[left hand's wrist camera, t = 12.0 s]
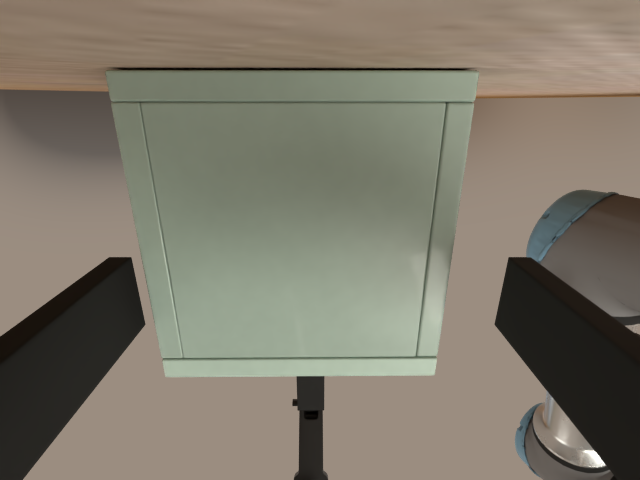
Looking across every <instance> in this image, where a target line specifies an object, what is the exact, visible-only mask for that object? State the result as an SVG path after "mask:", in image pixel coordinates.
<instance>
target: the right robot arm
mask: <svg viewBox="0 0 640 480" xmlns="http://www.w3.org/2000/svg"><path fill="white" fill-rule="evenodd" d="M526 256H527V257H531V258H532V259H534V260H535V261H536V262H538V263H539V264H541V265H542V266H543V267H545V268H546V269H547V270H549V271H550V272H552V273H553V274H554V275H556V276H557V277H558V278H560V279H561V280H563V281H564V282H565V283H567V284H568V285H569V286H571V287H572V288H574V289H575V290H576V291H578V292H579V293H580V294H582V295H583V296H584V297H586V298H587V299H589V300H590V301H591V302H593V303H594V304H595V305H597V306H598V307H600V308H601V309H602V310H604V311H605V312H606V313H608V314H609V315H611V316H612V317H613V318H615V319H616V320H617V321H619V322H620V323H622V324H623V325H624V326H626V327H627V328H628V329H630V330H631V331H633V332H634V333H636V331H637V327H638V326H639V325H640V199H639V198H634V197H629V196H624V195H619V194H618V193H615V192H608V193H605V192H598V191H591V190H576V191H573V192H570V193H568V194H566V195H564V196H562V197H561V198H559V199H558V200H556V201H555V202H554V203H553V204H552V205H551V206H550V207H549V208H548V209H547V210H546V211H545V213H544V214H543V215H542V217H541V218H540V219H539V221H538V222H537V224H536V225H535V227H534V229H533V231H532V233H531V236H530V238H529V241H528V245H527V251H526ZM293 406H298V410H300V418H299V471H298V472H297V473H296V474H295V477H294V480H328V475H327V473H326V472H325V471H323V410H324V376H297V399H293ZM520 424H521V425H520V427H519V428H517V431H516V436H515V447H516V450H517V453H518V455H519V457H520V458H521V459H522V460H523V461H524V462H525V463H526V464H527V465H528V466H529V468H530V469H531V470H532V471H533V472H534V474H536V475H537V476H539V477H541V478H542V479H543V480H617V479H616V477H615V476H614V475H613V473H612V472H611V471H610V470H609V468H608V467H607V466H606V465H605V463H604V462H603V461H602V460H601V458H600V457H599V456H598V455H597V453H596V452H595V451H594V449H593V448H592V447H591V446H590V444H589V443H588V442H587V441H586V439H585V438H584V437H583V436H582V434H581V433H580V432H579V431H578V429H577V428H576V427H575V425H574V424H573V423H572V422H571V420H570V419H569V418H568V417H567V415H566V414H565V413H564V412H563V410H562V409H561V408H560V407H559V405H558V404H557V403H556V401H555V400H554V399H553V398H552V396H551V395H550V394H549V393H548V391H547V394H546V402H544V403H539V404H537V405H535V406H533V407H532V408H531V409H530V410H529V411H528V412H527V413H526V414H525V415H524V417H523V418H522V420H521V422H520Z"/></svg>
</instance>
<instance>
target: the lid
mask: <svg viewBox="0 0 640 480" xmlns="http://www.w3.org/2000/svg"><path fill="white" fill-rule="evenodd" d="M162 362H163V367H164V372H165V376H166V377H243V376H245V377H247V376H394V375H396V376H397V375H435V369H436V362H437V357H436V356H417V355H416V356H413V357H251V358H184V356H183V358H163V360H162Z"/></svg>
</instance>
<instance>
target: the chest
mask: <svg viewBox="0 0 640 480" xmlns="http://www.w3.org/2000/svg"><path fill="white" fill-rule="evenodd" d="M105 75H106V80H107V85H108V90H109V95H110V99H111V101H113V102H112V103H111V106H112V111H113V116H114V121H115V126H116V132H117V136H118V142H119V147H120V152H121V157H122V161H123V167H124V172H125V177H126V182H127V187H128V192H129V197H130V202H131V207H132V212H133V217H134V222H135V227H136V232H137V237H138V242H139V247H140V252H141V257H142V262H143V267H144V272H145V277H146V282H147V287H148V292H149V297H150V302H151V307H152V312H153V317H154V322H155V327H156V333H157V338H158V343H159V348H160V353H161V357H162V358H183V356H184V358H251V357H413V356H416V355H417V356H437V354H438V347H439V340H440V333H441V326H442V320H443V313H444V306H445V299H446V292H447V286H448V279H449V272H450V265H451V258H452V252H453V245H454V238H455V231H456V224H457V218H458V211H459V204H460V197H461V190H462V184H463V177H464V170H465V163H466V156H467V150H468V143H469V136H470V129H471V122H472V116H473V109H474V104H473V103H472V102H473V101H474V100H475V97H476V90H477V83H478V76H479V71H477V70H107V71H105Z"/></svg>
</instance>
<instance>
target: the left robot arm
mask: <svg viewBox="0 0 640 480" xmlns="http://www.w3.org/2000/svg"><path fill="white" fill-rule="evenodd" d="M144 326H145V321H144V316H143V311H142V306H141V301H140V297H139V292H138V287H137V282H136V277H135V273H134V268H133V263H132V259H131V257H109V258H108V259H106V260H105V261H104V262H102V263H101V264H100V265H98V266H97V267H95V268H94V269H93V270H91V271H90V272H88V273H87V274H86V275H84V276H83V277H82V278H80V279H79V280H77V281H76V282H75V283H73V284H72V285H71V286H69V287H68V288H67V289H65V290H64V291H62V292H61V293H60V294H58V295H57V296H56V297H54V298H53V299H51V300H50V301H49V302H47V303H46V304H45V305H43V306H42V307H40V308H39V309H38V310H36V311H35V312H34V313H32V314H31V315H29V316H28V317H27V318H25V319H24V320H23V321H21V322H20V323H19V324H17V325H16V326H14V327H13V328H12V329H10V330H9V331H7V332H6V333H5V334H3V335H2V336H0V480H23V479H24V477H25V476H26V475H27V473H28V472H29V471H30V470H31V468H32V467H33V466H34V465H35V463H36V462H37V461H38V460H39V458H40V457H41V456H42V455H43V453H44V452H45V451H46V449H47V448H48V447H49V446H50V444H51V443H52V442H53V441H54V439H55V438H56V437H57V435H58V434H59V433H60V432H61V431H62V429H63V428H64V427H65V425H66V424H67V423H68V422H69V420H70V419H71V418H72V417H73V415H74V414H75V413H76V412H77V410H78V409H79V408H80V406H81V405H82V404H83V403H84V401H85V400H86V399H87V398H88V396H89V395H90V394H91V393H92V391H93V390H94V389H95V387H96V386H97V385H98V384H99V382H100V381H101V380H102V379H103V377H104V376H105V375H106V374H107V372H108V371H109V370H110V369H111V367H112V366H113V365H114V364H115V362H116V361H117V360H118V358H119V357H120V356H121V355H122V353H123V352H124V351H125V350H126V348H127V347H128V346H129V345H130V343H131V342H132V341H133V340H134V338H135V337H136V336H137V334H138V333H139V332H140V331H141V329H142V328H143V327H144ZM495 326H496V327H497V328H498V329H499V331H500V332H501V333H502V334H503V336H504V337H505V338H506V339H507V341H508V342H509V343H510V345H511V346H512V347H513V348H514V349H515V351H516V352H517V353H518V355H519V356H520V357H521V358H522V360H523V361H524V362H525V364H526V365H527V366H528V367H529V369H530V370H531V371H532V372H533V374H534V375H535V376H536V377H537V379H538V380H539V381H540V382H541V384H542V385H543V386H544V388H545V389H546V390H547V391H548V393H549V394H550V395H551V396H552V398H553V399H554V400H555V401H556V403H557V404H558V405H559V407H560V408H561V409H562V410H563V412H564V413H565V414H566V415H567V417H568V418H569V419H570V420H571V422H572V423H573V424H574V425H575V427H576V428H577V429H578V431H579V432H580V433H581V434H582V436H583V437H584V438H585V439H586V441H587V442H588V443H589V444H590V446H591V447H592V448H593V449H594V451H595V452H596V453H597V455H598V456H599V457H600V458H601V460H602V461H603V462H604V463H605V465H606V466H607V467H608V468H609V470H610V471H611V472H612V473H613V475H614V476H615V477H616V479H617V480H640V335H639V334H637V333H634V332H633V331H631V330H630V329H628V328H627V327H626V326H624V325H623V324H622V323H620V322H619V321H617V320H616V319H615V318H613V317H612V316H611V315H609V314H608V313H606V312H605V311H604V310H602V309H601V308H600V307H598V306H597V305H595V304H594V303H593V302H591V301H590V300H589V299H587V298H586V297H584V296H583V295H582V294H580V293H579V292H578V291H576V290H575V289H574V288H572V287H571V286H569V285H568V284H567V283H565V282H564V281H563V280H561V279H560V278H558V277H557V276H556V275H554V274H553V273H552V272H550V271H549V270H547V269H546V268H545V267H543V266H542V265H541V264H539V263H538V262H536V261H535V260H534V259H532V258H531V257H509V258H508V263H507V268H506V273H505V278H504V282H503V287H502V292H501V297H500V301H499V306H498V311H497V316H496V320H495Z"/></svg>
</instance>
